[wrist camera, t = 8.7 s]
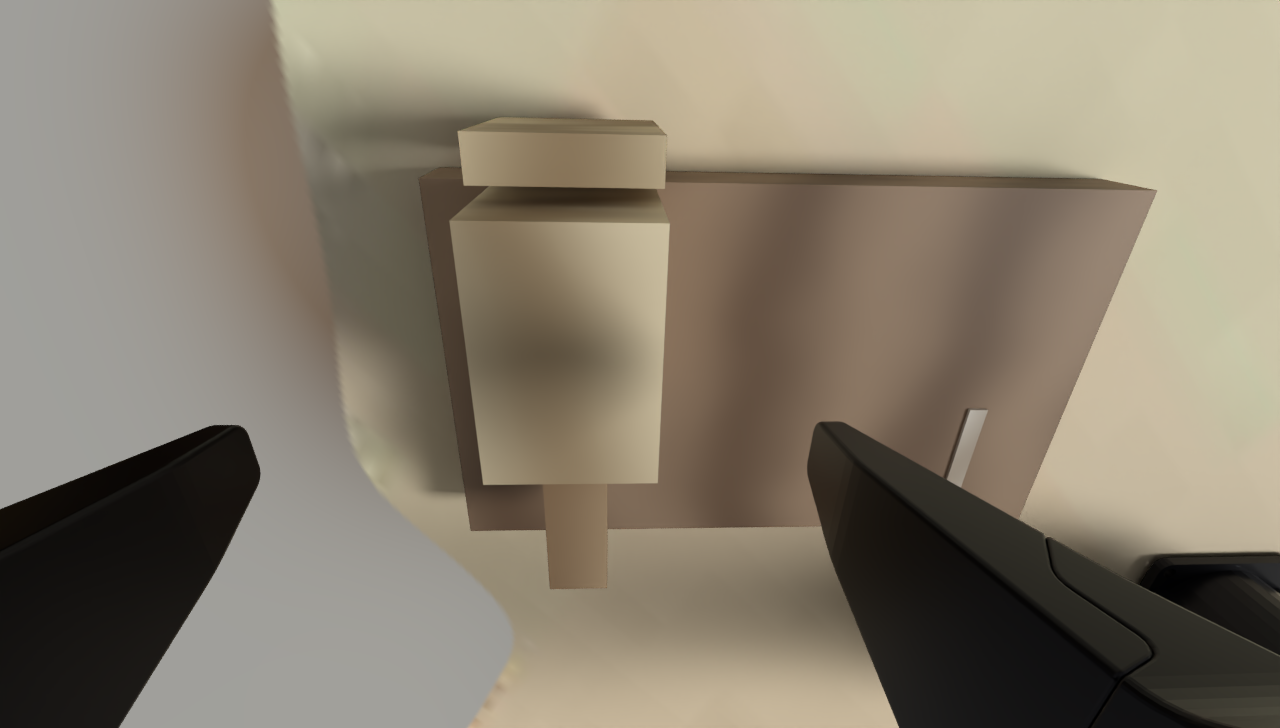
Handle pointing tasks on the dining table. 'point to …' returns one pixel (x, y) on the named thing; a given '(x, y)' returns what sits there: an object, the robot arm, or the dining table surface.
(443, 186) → the walnut board
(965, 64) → the dining table surface
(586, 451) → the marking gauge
